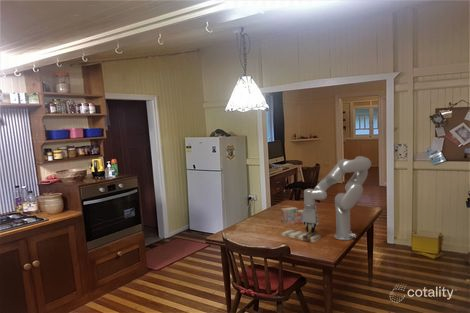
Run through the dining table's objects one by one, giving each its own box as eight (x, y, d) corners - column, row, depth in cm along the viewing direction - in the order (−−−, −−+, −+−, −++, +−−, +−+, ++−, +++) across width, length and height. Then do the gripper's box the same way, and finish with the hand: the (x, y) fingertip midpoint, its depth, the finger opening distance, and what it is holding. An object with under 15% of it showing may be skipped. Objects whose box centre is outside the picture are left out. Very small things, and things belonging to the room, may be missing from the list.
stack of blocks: (305, 219, 281) (304, 205, 280) (308, 221, 275) (308, 207, 274) (281, 222, 277) (280, 208, 276) (284, 224, 271) (283, 210, 270)
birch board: (320, 237, 235) (320, 235, 235) (314, 242, 228) (314, 239, 227) (288, 232, 252) (288, 229, 252) (281, 235, 244) (281, 232, 244)
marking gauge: (318, 235, 238) (317, 221, 238) (309, 241, 228) (308, 226, 227) (312, 234, 242) (311, 220, 241) (302, 240, 231) (302, 225, 230)
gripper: (323, 206, 230) (323, 232, 232) (301, 204, 241) (302, 228, 242) (318, 209, 225) (319, 235, 226) (296, 206, 235) (297, 231, 237)
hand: (310, 231), depth 234 cm, fingers closed on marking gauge, 3 cm apart
